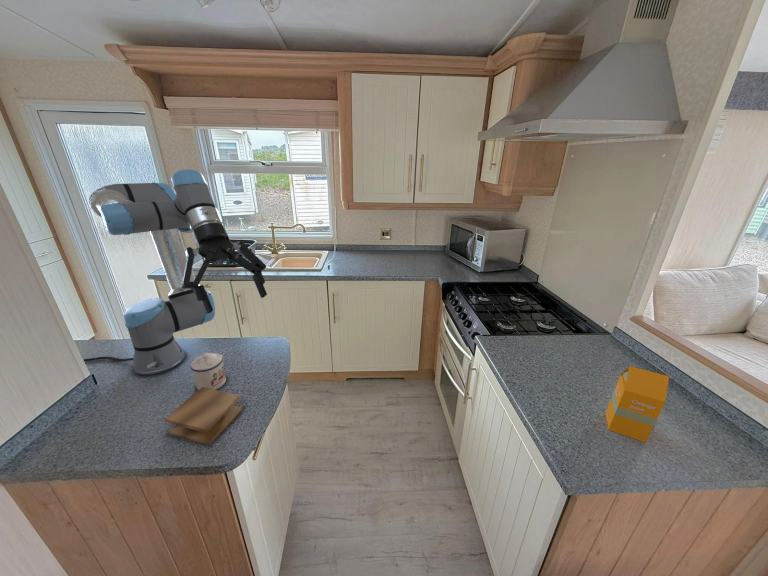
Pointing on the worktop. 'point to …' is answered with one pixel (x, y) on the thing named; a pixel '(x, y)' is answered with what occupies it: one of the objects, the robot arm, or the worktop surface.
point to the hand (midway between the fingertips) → (238, 303)
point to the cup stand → (204, 415)
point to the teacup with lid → (208, 371)
